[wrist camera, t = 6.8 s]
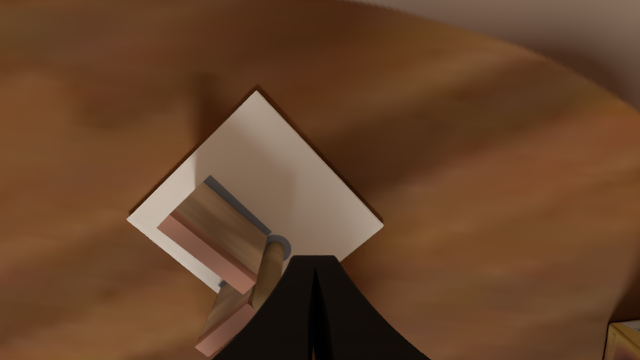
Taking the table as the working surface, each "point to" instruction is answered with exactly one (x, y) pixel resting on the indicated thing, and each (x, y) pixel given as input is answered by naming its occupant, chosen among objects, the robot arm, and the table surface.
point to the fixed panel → (241, 302)
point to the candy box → (623, 341)
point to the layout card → (264, 190)
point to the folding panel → (217, 237)
